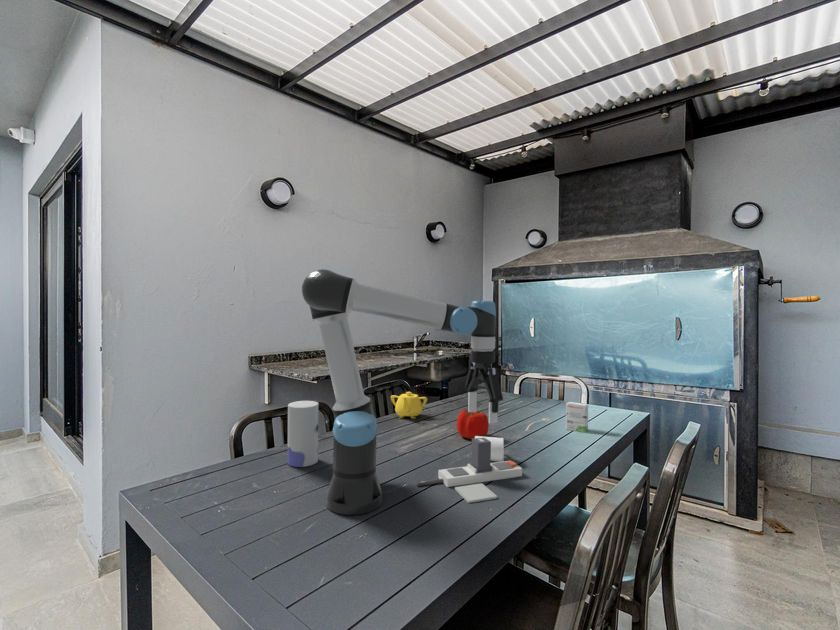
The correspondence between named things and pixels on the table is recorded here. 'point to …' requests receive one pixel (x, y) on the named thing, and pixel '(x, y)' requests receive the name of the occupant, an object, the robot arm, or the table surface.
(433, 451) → the table surface
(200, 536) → the table surface
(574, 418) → the ink box
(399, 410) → the yellow handled pot
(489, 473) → the power strip
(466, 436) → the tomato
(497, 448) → the mug
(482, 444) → the block
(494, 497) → the felt pad
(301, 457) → the container
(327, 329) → the robot arm
